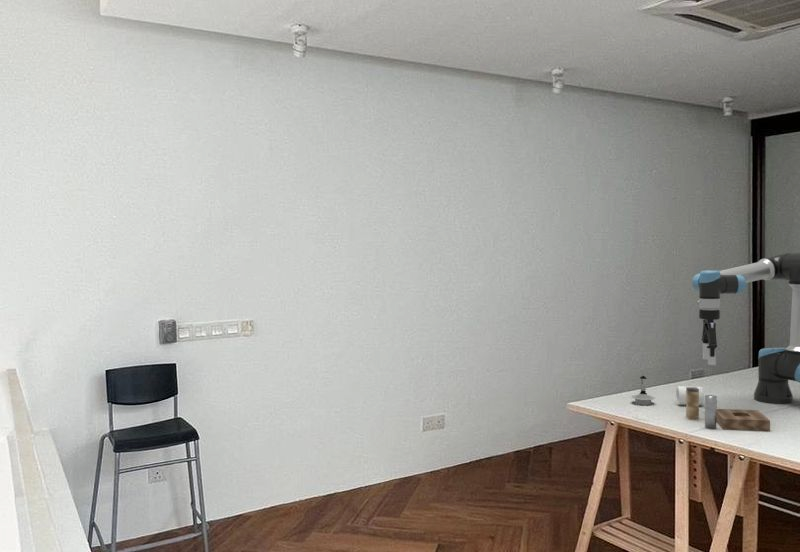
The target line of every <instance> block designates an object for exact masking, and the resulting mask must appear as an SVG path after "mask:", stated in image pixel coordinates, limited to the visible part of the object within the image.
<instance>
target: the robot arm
mask: <svg viewBox="0 0 800 552" xmlns="http://www.w3.org/2000/svg"><path fill="white" fill-rule="evenodd" d="M761 280H764V281H771V280H784V281H785V280H786V281H788V286H789V287H791V289H792V290H791V291H792V294H791V311H790V312H791V314H790V333H789V334H790V335H789V345H788V346H787V347H766V348H765V347H763V348H761V349H760V350H759V351H758V357H757V359H758V367H757V369H758V370H757V371H758V382H757V385H756V387H755V390H754V392H753V399H754V400H755V401H759V402H761V403H770V404H789V403H793V402H794V396H793V392H792V390H791V387H790V383H789V381H793V382H797V383H800V252H798V253H796V252H786V253H781V254H775V255H773V256H769V257H764V258H761V259H760V260H758V261H756V262H752V263H749V264H744V265H740V266H735V267H732V268H726V269H721V270H702V271H700V273H696V275H694V276H693V277H692V282H691V283H692V284H691V285H692V287H693V289H694V290H695V291H697V292H699V296H698V297H699V300H697V303H698V305H699V308H700V309H699V310H698V311H699V312H698V315H699V316H698V318H699V319H701V320H702V336H701V341H702V360H707V365H708V366H716V365H717V357H716V356H717V348H718V341H717V331H716V330H717V329H716V327H717V324H716V322H715V320H720V318H721V317H720V316H721V311H720V310H719V309H721V294H722V295H729V294H730V295H732V294H733V295H736V294H742V293H743V292H744V291H745V290H746V288H747V283H751V282H755V281H761Z"/></svg>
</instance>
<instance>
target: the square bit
mask: <svg viewBox="0 0 800 552" xmlns="http://www.w3.org/2000/svg"><path fill="white" fill-rule="evenodd" d="M697 387H698V386H687V387H686V405H685V409H686V411H685V412H686V413H685V417H686V418H687V420H696V419H700V406H699V389H698V388H697Z"/></svg>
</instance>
